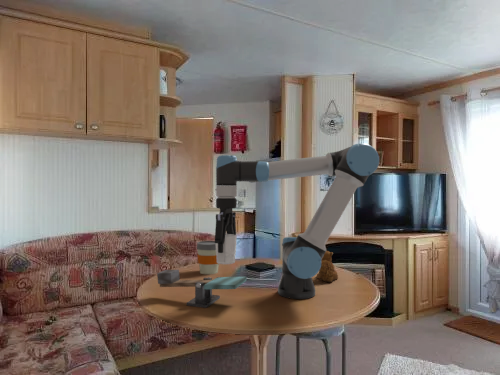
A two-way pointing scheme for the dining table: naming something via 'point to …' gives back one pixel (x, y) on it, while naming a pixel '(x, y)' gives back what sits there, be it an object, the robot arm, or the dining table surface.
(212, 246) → the reusable coffee cup
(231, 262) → the white cup
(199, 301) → the beam stand
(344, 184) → the robot arm
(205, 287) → the balance beam
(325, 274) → the stuffed squirrel
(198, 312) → the dining table surface
